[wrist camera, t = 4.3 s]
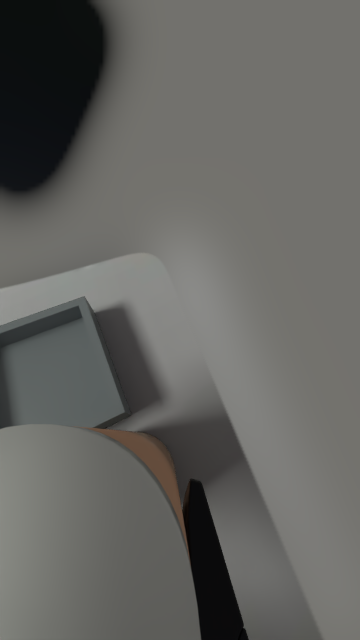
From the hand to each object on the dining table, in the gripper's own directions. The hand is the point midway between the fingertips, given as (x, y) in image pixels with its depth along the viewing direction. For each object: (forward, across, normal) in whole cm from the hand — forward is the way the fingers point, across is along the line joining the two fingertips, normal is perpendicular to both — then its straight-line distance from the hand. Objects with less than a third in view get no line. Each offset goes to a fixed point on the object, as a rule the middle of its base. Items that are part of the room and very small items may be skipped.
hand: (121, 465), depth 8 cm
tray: (+7, +8, +4) cm, 11 cm away
